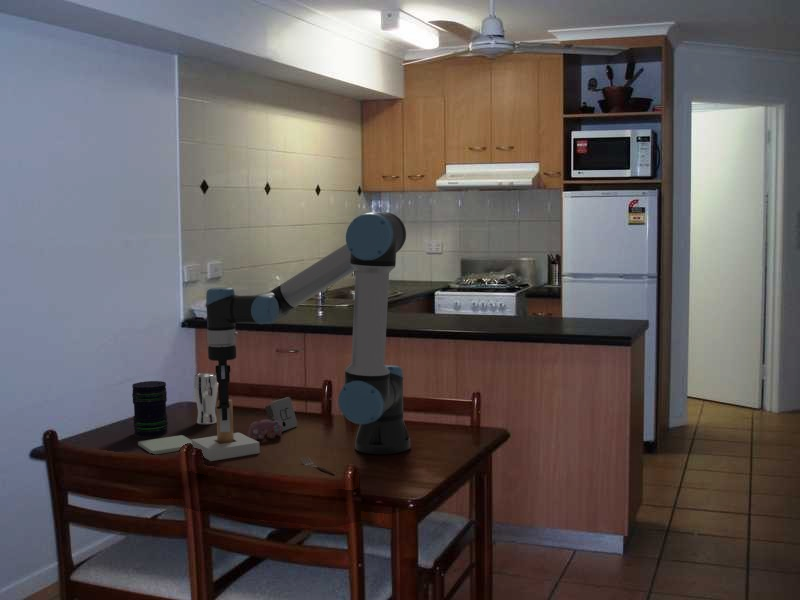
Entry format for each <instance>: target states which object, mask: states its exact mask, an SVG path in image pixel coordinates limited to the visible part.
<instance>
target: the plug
mask: <svg viewBox="0 0 800 600" xmlns="http://www.w3.org/2000/svg"><path fill="white" fill-rule="evenodd" d="M219 404H220V401H219V399H218V400H217V399H216V406H215V414H216V419H217V422H216V436H217V443H219V444H224V443H230V442H234V434H233V433H234V414H233V413H234V410H233V409H234V407H233V400H232V399H229V410H230V432H220V416H219V409H217V406H219Z"/></svg>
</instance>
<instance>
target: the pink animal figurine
mask: <svg viewBox="0 0 800 600" xmlns="http://www.w3.org/2000/svg"><path fill="white" fill-rule="evenodd" d="M266 431H267V432H266ZM264 432H266V435H267V436H266V437H267V438H268V439H274V438H275V437H276V436H277V437H281V434H282V425H281V424H280V423H279V422H278V421H277V420H274V421H272V420H268V419H261V420H259V421H253V422H252V423H251V424H250V425H249V427H248V430H247V437H250V438H252V439H253V436H254V437H255V438H256V439H257V440H263V439H264V437H265V433H264Z"/></svg>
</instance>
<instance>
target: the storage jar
mask: <svg viewBox="0 0 800 600" xmlns="http://www.w3.org/2000/svg"><path fill="white" fill-rule="evenodd" d="M131 394H132V395H131V397H132V404H133V413H134V415H133V418H132V420H133V427H134V428H133V430H134V436H135V437H138V438H147V439H148V438H157V437H163V436H165V435H167V434H168V433H169V431H168V426H169V421H168V414H167V400H168V397H167V382H166V381H161V380H150V381H149V380H147V381H139V382H136V383H135V382H134V383H133V384H132V393H131Z"/></svg>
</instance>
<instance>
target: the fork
mask: <svg viewBox="0 0 800 600" xmlns="http://www.w3.org/2000/svg"><path fill="white" fill-rule="evenodd" d="M300 459H301V461H302V463H303V465H304V466H309V465H310V467H311V468H315V469H317V470H319V471H320V472H322V473H326V474H328V475H332V476H336V474H335V473H333V472H331V471H329V470H328V469H327V468H324V467H320V466H316V465H314V462H313V461H312V459H311V458H310V456H309V455H308V454H307V456H306V455H305V457H304V456H302V457H300Z"/></svg>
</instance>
